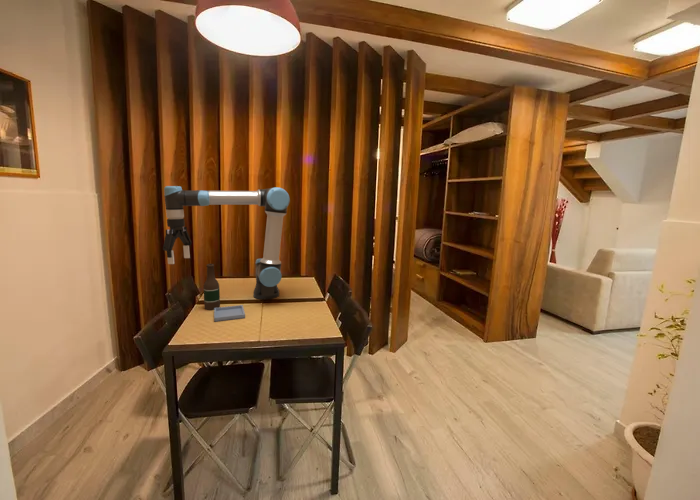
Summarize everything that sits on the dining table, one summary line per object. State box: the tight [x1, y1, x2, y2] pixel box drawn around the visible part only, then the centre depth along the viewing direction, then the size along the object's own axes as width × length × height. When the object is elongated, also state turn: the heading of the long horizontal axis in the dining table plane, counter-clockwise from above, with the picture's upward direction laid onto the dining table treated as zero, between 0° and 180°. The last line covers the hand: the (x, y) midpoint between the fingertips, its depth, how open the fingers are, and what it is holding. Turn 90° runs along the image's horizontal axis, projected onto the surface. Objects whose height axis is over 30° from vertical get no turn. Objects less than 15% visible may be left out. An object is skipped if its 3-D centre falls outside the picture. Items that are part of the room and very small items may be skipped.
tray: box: [213, 304, 246, 323], centre depth 158 cm, size 14×14×2 cm
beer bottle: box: [203, 263, 221, 311], centre depth 165 cm, size 8×8×24 cm
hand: (179, 260), depth 156 cm, fingers open, 13 cm apart
